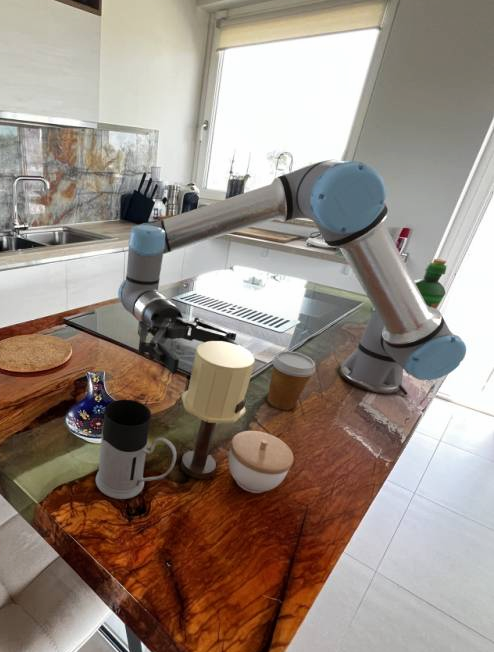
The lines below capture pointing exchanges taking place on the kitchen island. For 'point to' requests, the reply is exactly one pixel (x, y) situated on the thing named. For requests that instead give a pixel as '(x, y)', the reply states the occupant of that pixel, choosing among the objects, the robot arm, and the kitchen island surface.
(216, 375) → the hat
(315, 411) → the kitchen island surface
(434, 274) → the bottle
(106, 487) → the glass holder
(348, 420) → the kitchen island surface
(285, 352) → the disposable coffee cup
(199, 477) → the stand
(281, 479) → the trinket box
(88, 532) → the kitchen island surface
